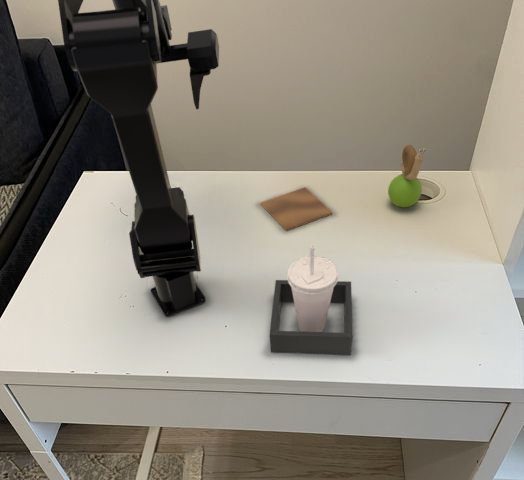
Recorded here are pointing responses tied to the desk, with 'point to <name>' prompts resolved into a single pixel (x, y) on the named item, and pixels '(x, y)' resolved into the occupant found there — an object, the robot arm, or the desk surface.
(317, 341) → the dark grey square frame
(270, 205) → the coaster
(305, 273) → the smoothie
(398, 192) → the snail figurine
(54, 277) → the desk surface
